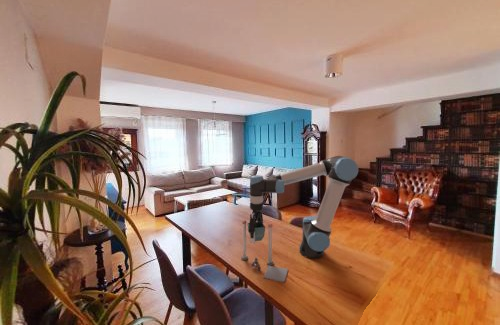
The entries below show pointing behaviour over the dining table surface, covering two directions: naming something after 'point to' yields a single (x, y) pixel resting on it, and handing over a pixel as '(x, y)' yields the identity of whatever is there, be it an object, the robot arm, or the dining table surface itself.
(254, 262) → the bent rail
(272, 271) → the tile
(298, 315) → the dining table surface
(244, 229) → the post
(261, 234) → the flower pot
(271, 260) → the post
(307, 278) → the dining table surface
